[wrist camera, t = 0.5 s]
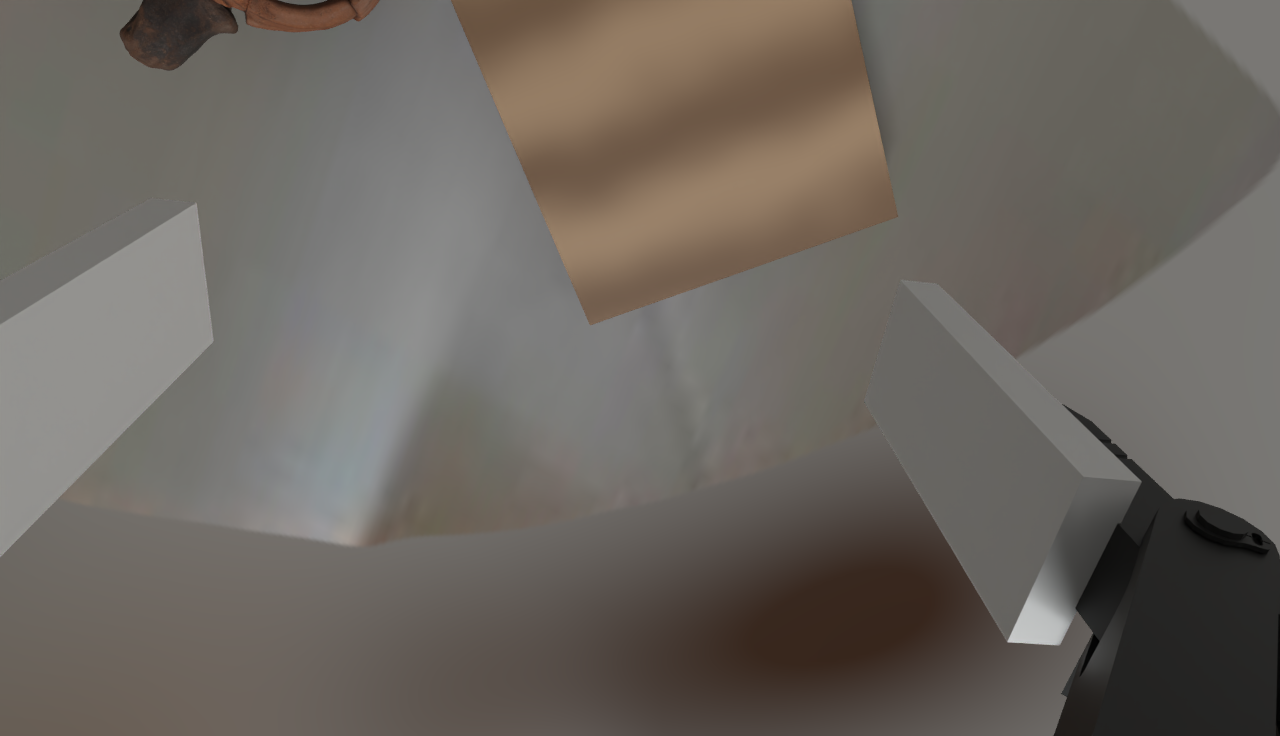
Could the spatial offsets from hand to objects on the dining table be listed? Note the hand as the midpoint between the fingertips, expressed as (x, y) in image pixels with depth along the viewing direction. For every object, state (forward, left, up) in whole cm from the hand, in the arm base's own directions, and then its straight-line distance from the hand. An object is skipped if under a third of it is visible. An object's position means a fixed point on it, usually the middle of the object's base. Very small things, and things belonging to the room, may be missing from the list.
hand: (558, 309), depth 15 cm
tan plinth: (+1, +4, -24) cm, 24 cm away
